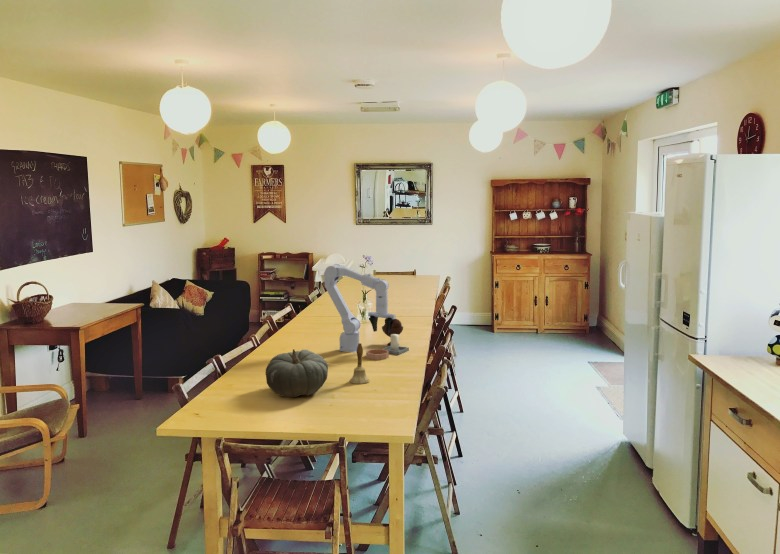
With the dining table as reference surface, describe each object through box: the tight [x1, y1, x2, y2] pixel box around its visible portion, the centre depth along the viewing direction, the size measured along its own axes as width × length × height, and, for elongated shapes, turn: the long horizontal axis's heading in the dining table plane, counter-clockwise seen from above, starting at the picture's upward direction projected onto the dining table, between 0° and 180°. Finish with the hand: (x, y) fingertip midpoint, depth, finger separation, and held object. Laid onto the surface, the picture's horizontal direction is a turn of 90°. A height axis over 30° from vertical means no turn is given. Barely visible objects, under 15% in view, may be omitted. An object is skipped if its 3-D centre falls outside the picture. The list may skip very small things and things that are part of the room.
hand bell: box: [349, 342, 370, 385], centre depth 253 cm, size 8×8×16 cm
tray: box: [382, 345, 410, 356], centre depth 300 cm, size 10×10×2 cm
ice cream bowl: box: [381, 318, 404, 347], centre depth 315 cm, size 11×11×15 cm
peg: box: [390, 334, 400, 352], centre depth 300 cm, size 4×4×8 cm
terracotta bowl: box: [365, 348, 390, 361], centre depth 290 cm, size 11×11×3 cm
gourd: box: [265, 349, 329, 398], centre depth 239 cm, size 25×25×17 cm
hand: (381, 332), depth 299 cm, fingers open, 7 cm apart
